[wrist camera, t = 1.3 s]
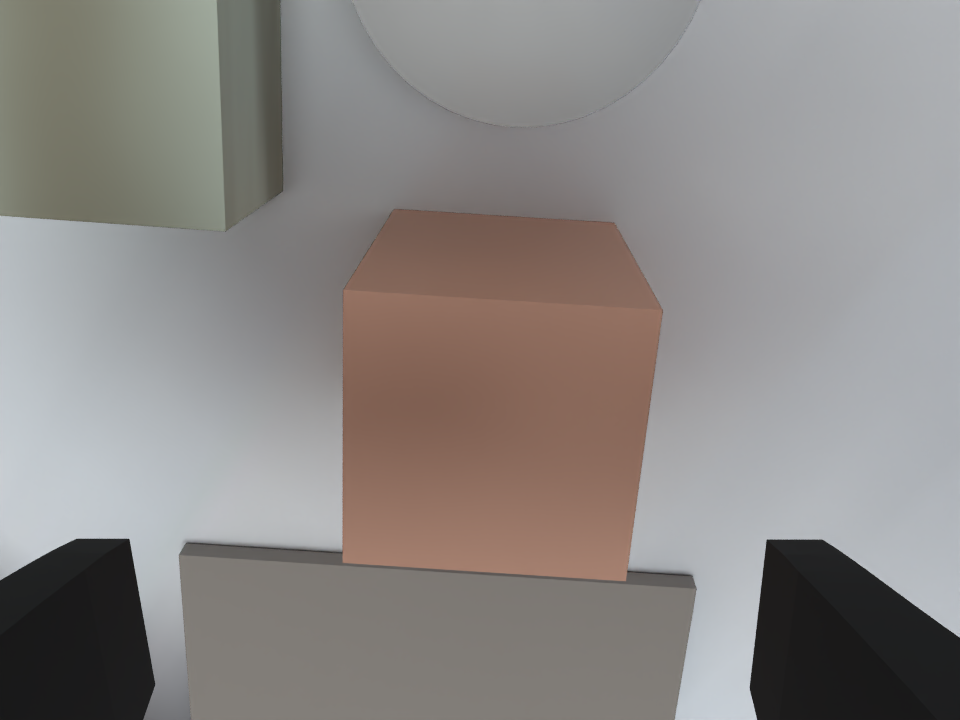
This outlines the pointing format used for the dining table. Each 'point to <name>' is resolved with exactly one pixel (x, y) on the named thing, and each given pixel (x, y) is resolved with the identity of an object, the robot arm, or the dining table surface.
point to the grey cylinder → (525, 52)
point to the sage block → (140, 110)
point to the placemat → (425, 641)
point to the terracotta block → (496, 395)
